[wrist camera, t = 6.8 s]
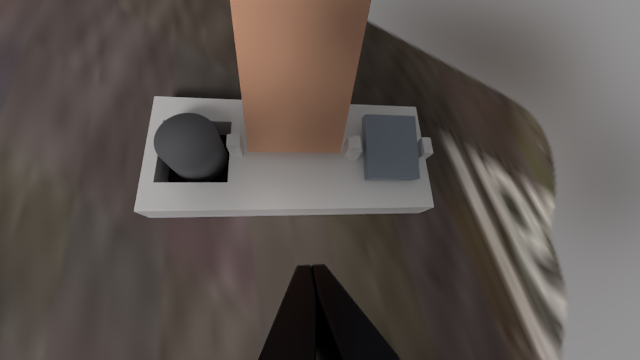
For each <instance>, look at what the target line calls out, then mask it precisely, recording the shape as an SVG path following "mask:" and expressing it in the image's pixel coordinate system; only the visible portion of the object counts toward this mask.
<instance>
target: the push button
mask: <svg viewBox="0 0 640 360" xmlns="http://www.w3.org/2000/svg"><path fill="white" fill-rule="evenodd" d="M154 148H155V151H156V153H157V155H158V156H159V157H160V158H161V159H162V160H163V161H164V162H165V163H166V164H167V165H168V166H169V167H170V168H171V169H172V170H174V171H175V172H176V173H177V174H178V175H179V176H180V177H181V178H183V179H184V180H186V181H188V182H208V181H211V180H213V179H215V178H216V177H218V176H219V175H220V174H221V173H222V172H223V170H224V169H225V167H226V164H227V151H226V149H225V147H224V145H223V142H222V140H221V138H220V136H219V134H218V132H217V130H216V127H215V126H214V124H213V123H212V122H211V121H210V120H209V119H208V118H206V117H204V116H202V115H200V114H196V113H181V114H177V115H174V116H172V117H170V118H168V119H167V120H165V121H164V122H163V123H162V124H161V125H160V126H159V128H158V129H157V131H156V133H155V136H154Z"/></svg>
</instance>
